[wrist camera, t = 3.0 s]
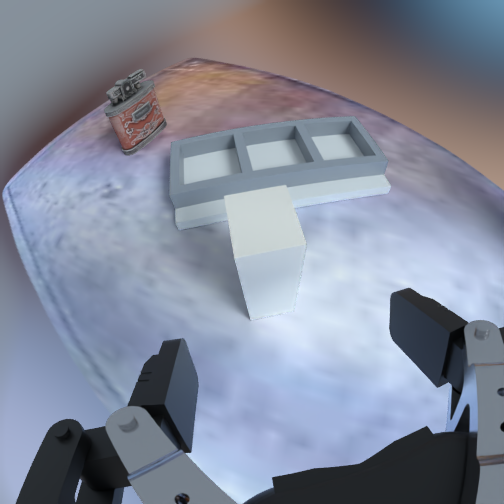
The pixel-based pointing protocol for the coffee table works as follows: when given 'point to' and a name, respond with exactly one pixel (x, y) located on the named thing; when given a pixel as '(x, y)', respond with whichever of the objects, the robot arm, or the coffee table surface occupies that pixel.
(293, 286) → the clay bar
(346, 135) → the rack
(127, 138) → the lighter
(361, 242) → the coffee table surface
